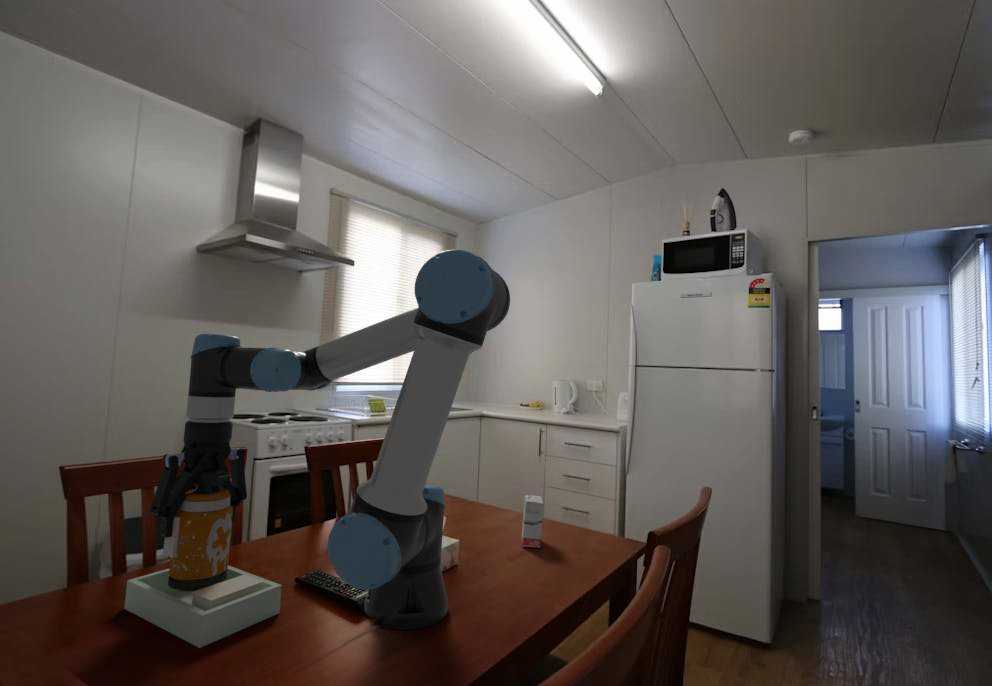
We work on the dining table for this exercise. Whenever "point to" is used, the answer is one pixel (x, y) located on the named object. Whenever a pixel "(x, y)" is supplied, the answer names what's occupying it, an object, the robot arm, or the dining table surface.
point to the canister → (202, 534)
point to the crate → (190, 622)
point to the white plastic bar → (225, 592)
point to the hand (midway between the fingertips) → (197, 548)
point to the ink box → (532, 520)
